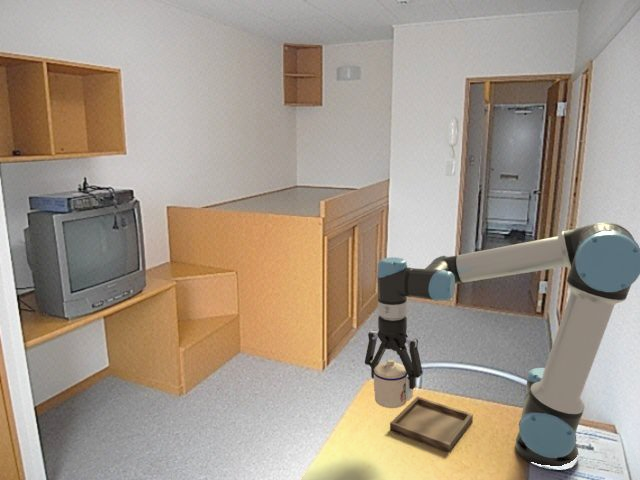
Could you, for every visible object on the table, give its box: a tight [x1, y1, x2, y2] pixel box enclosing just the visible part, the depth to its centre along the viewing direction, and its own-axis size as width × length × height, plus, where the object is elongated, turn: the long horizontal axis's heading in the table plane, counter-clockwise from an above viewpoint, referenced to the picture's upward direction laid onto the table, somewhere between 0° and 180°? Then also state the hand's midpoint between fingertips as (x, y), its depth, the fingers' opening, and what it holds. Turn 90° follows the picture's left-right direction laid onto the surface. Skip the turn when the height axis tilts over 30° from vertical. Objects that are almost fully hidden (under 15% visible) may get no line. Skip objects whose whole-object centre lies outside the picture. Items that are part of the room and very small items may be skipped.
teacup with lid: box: [374, 359, 408, 409], centre depth 131 cm, size 12×9×12 cm
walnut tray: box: [389, 396, 474, 454], centre depth 142 cm, size 18×18×2 cm
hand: (393, 393), depth 132 cm, fingers closed on teacup with lid, 9 cm apart
